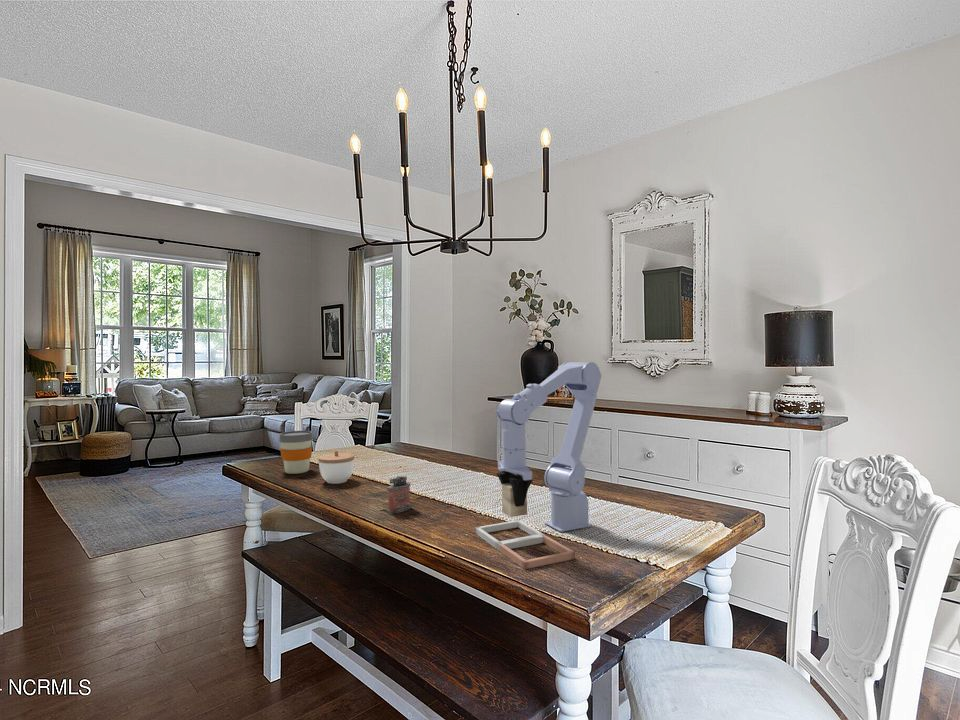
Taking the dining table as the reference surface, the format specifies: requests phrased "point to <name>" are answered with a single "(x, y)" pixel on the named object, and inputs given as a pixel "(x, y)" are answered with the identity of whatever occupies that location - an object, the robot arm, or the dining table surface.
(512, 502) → the maple block
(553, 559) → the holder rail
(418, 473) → the dining table surface
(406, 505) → the lighter
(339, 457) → the lidded bowl
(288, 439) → the reusable coffee cup
